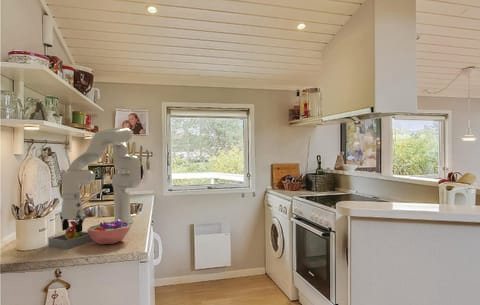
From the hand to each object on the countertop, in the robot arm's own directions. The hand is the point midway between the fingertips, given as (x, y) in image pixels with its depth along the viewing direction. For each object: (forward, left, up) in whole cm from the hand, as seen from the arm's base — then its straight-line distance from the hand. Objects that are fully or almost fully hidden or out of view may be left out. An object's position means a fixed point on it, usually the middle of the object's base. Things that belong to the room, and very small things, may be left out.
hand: (72, 230), depth 147 cm
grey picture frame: (0, 0, -6) cm, 6 cm away
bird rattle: (0, 0, -6) cm, 6 cm away
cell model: (-7, +18, -6) cm, 20 cm away
